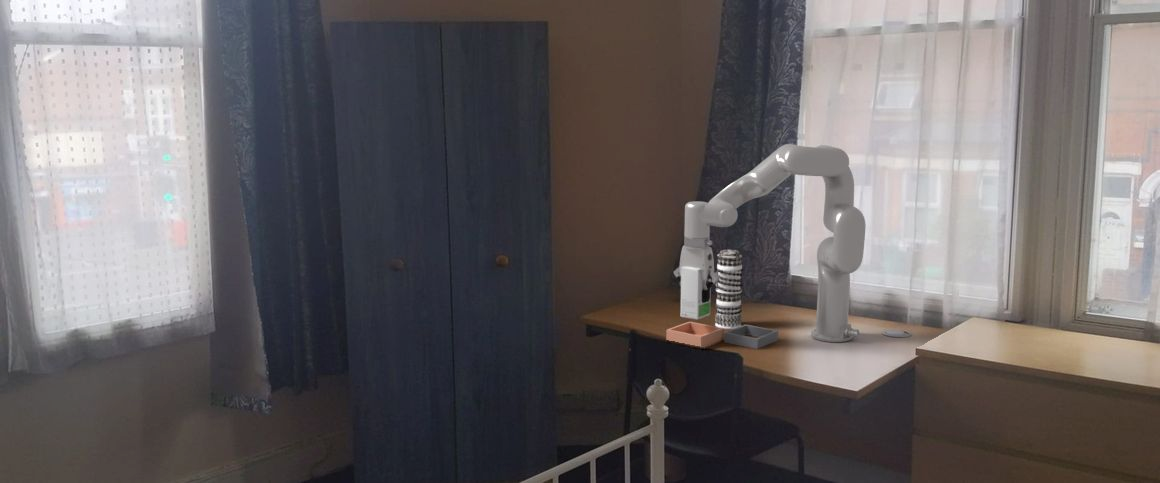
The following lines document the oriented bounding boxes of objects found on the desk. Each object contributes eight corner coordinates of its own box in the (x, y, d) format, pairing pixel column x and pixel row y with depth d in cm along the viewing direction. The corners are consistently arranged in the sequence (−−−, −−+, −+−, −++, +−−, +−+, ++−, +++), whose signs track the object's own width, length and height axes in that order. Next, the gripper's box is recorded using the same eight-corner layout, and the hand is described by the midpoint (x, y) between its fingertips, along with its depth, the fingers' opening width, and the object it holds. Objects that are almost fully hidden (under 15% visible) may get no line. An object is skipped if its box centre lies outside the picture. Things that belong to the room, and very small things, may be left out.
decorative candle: (741, 330, 297) (743, 253, 293) (712, 328, 299) (714, 252, 295) (743, 322, 306) (745, 248, 302) (715, 321, 308) (716, 247, 304)
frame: (777, 340, 286) (778, 330, 285) (757, 349, 276) (757, 339, 276) (745, 333, 293) (745, 324, 293) (723, 342, 284) (724, 332, 283)
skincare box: (697, 320, 278) (698, 269, 275) (678, 317, 282) (679, 267, 279) (711, 314, 284) (712, 265, 282) (692, 311, 288) (693, 262, 286)
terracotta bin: (723, 340, 285) (723, 328, 284) (700, 349, 276) (701, 336, 275) (689, 333, 293) (689, 321, 293) (666, 342, 284) (666, 329, 283)
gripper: (727, 244, 276) (726, 302, 279) (680, 237, 287) (679, 293, 291) (714, 247, 271) (712, 306, 274) (666, 240, 282) (665, 297, 285)
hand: (695, 299), depth 282 cm, fingers closed on skincare box, 6 cm apart
